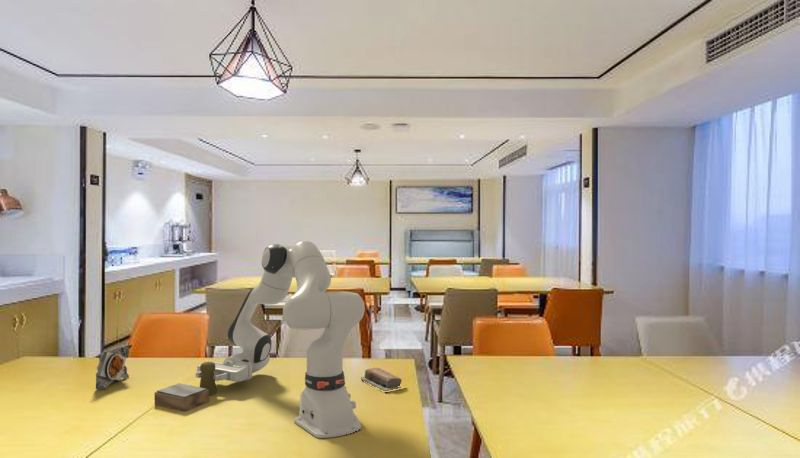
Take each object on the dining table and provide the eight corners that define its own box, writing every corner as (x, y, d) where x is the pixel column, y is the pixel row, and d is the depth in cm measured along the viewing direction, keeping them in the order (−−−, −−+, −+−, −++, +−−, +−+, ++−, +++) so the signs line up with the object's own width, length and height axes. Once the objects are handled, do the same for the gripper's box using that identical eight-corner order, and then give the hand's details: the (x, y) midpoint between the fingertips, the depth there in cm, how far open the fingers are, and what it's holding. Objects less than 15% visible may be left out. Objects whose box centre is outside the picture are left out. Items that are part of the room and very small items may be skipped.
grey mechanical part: (106, 390, 181) (106, 354, 181) (95, 390, 181) (95, 353, 181) (132, 377, 196) (132, 344, 195) (122, 377, 196) (122, 344, 196)
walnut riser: (179, 395, 176) (179, 382, 176) (208, 401, 169) (208, 388, 169) (154, 404, 167) (154, 391, 167) (184, 411, 160) (184, 397, 160)
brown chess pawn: (219, 390, 181) (219, 360, 180) (211, 396, 175) (211, 365, 174) (203, 390, 181) (203, 359, 181) (195, 395, 175) (195, 364, 175)
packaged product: (360, 369, 194) (381, 365, 199) (359, 381, 194) (381, 377, 199) (384, 381, 179) (407, 376, 184) (384, 394, 179) (407, 389, 184)
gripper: (214, 355, 194) (184, 364, 182) (255, 362, 185) (227, 371, 173) (214, 372, 194) (184, 381, 182) (255, 379, 185) (227, 390, 173)
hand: (205, 377), depth 177 cm, fingers open, 7 cm apart
